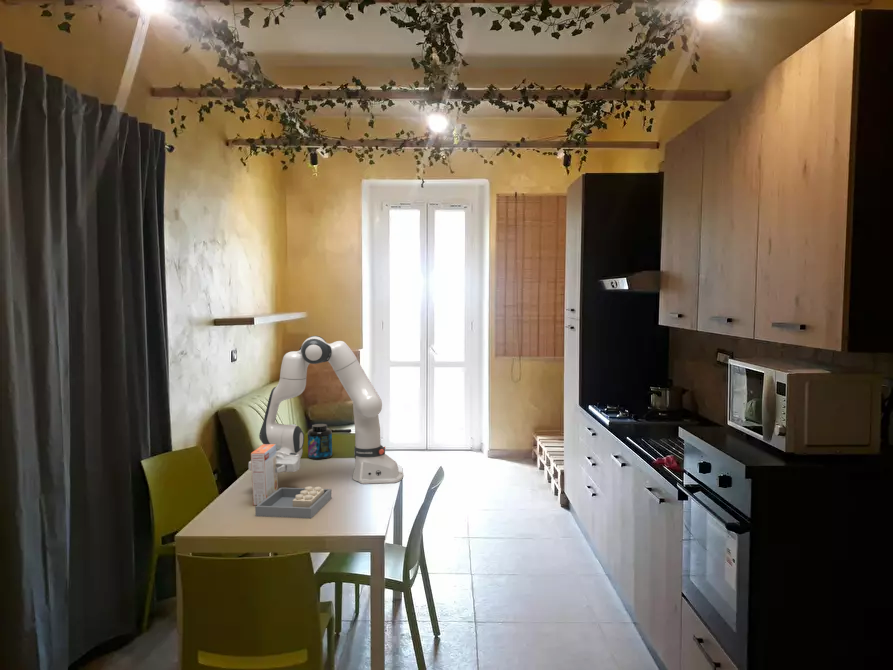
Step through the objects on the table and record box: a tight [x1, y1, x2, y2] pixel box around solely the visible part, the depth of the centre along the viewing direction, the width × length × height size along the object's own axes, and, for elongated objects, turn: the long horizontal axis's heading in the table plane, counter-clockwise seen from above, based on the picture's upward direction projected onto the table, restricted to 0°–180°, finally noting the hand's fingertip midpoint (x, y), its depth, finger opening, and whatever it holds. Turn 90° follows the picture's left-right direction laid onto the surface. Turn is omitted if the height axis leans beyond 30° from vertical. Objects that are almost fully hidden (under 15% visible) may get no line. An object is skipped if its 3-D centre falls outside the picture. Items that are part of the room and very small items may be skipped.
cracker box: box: [250, 443, 279, 506], centre depth 235 cm, size 14×6×21 cm, turn 178°
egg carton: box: [293, 485, 325, 508], centre depth 223 cm, size 7×14×6 cm, turn 172°
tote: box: [254, 487, 332, 519], centre depth 224 cm, size 21×22×4 cm
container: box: [307, 423, 333, 460], centre depth 299 cm, size 12×12×16 cm
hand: (265, 470), depth 236 cm, fingers open, 8 cm apart
